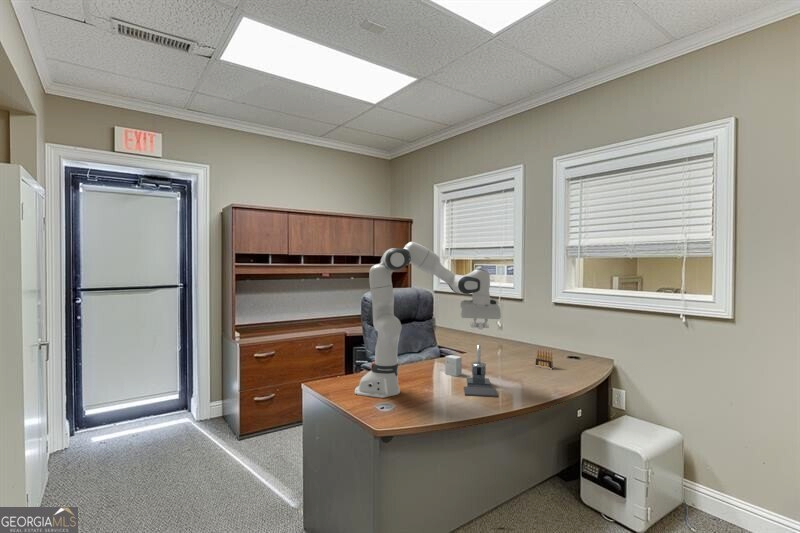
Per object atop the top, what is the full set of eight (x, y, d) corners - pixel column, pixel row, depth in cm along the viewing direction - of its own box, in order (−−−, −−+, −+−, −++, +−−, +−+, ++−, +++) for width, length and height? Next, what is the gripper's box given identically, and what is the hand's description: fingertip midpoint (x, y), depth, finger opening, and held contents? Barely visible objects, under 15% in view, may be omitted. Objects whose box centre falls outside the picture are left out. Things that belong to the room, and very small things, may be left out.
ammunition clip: (552, 369, 251) (553, 350, 250) (551, 369, 249) (551, 350, 249) (536, 365, 258) (537, 347, 258) (535, 366, 257) (535, 347, 257)
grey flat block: (471, 328, 207) (471, 323, 207) (470, 324, 221) (470, 319, 221) (489, 329, 206) (489, 323, 206) (486, 325, 220) (487, 320, 220)
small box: (461, 375, 234) (462, 357, 234) (456, 377, 230) (456, 358, 230) (450, 372, 239) (450, 354, 239) (444, 374, 235) (445, 356, 235)
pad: (464, 395, 197) (464, 393, 197) (463, 388, 209) (463, 386, 209) (498, 397, 195) (498, 395, 195) (495, 389, 207) (495, 388, 207)
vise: (467, 386, 212) (468, 346, 212) (466, 381, 222) (467, 342, 222) (490, 387, 210) (491, 347, 210) (488, 382, 220) (489, 343, 220)
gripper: (460, 300, 207) (460, 327, 207) (501, 301, 205) (501, 328, 205) (460, 299, 213) (459, 325, 213) (499, 300, 211) (499, 326, 211)
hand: (480, 327), depth 209 cm, fingers closed on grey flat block, 2 cm apart
